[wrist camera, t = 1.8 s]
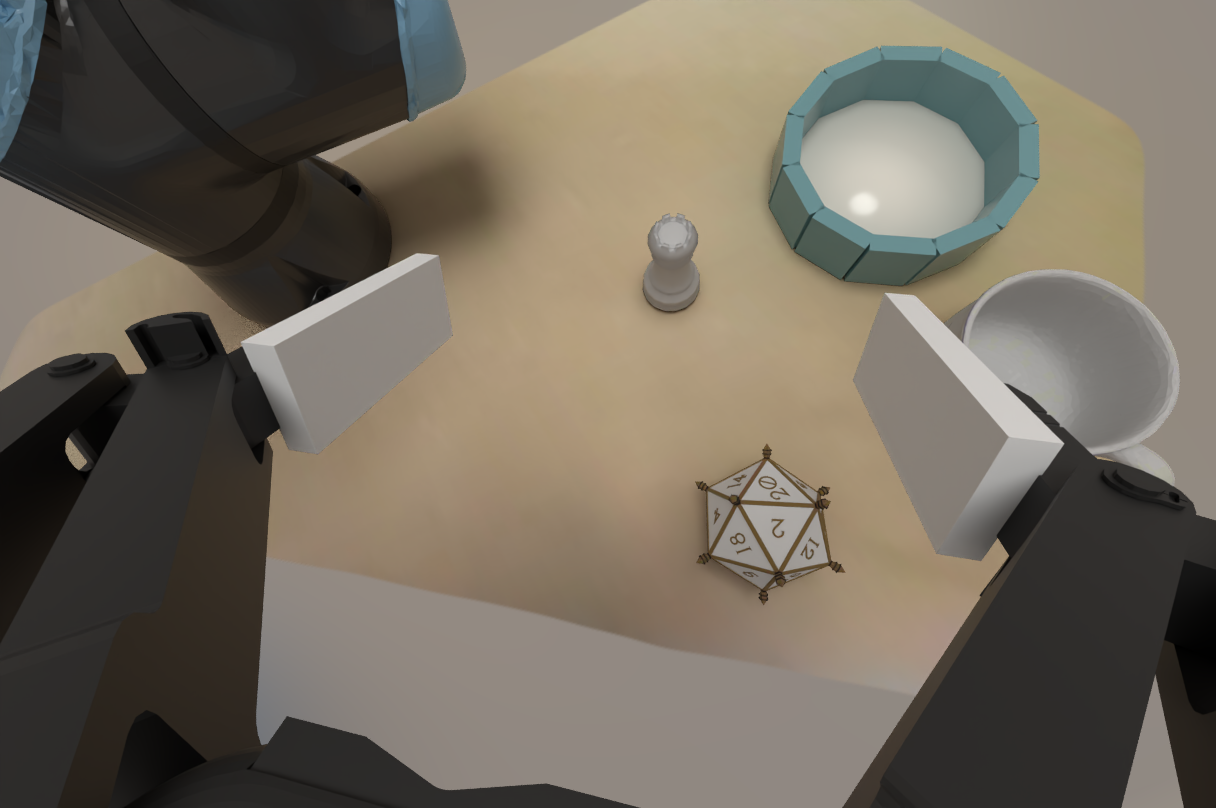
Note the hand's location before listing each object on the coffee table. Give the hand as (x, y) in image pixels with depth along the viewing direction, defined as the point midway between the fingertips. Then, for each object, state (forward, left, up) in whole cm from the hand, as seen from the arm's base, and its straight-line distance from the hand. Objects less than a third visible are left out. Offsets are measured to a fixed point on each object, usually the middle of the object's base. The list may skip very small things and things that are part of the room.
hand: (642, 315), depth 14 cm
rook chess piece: (0, +11, -22) cm, 24 cm away
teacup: (+23, +4, -22) cm, 32 cm away
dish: (+15, +21, -21) cm, 33 cm away
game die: (+8, -6, -22) cm, 24 cm away
